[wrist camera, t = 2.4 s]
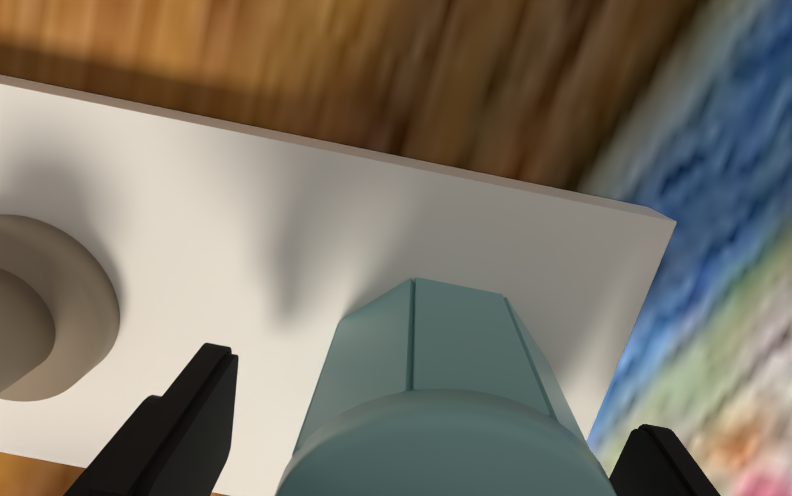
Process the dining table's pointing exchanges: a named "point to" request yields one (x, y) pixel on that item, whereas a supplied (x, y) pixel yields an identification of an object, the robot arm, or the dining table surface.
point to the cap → (439, 405)
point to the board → (264, 267)
